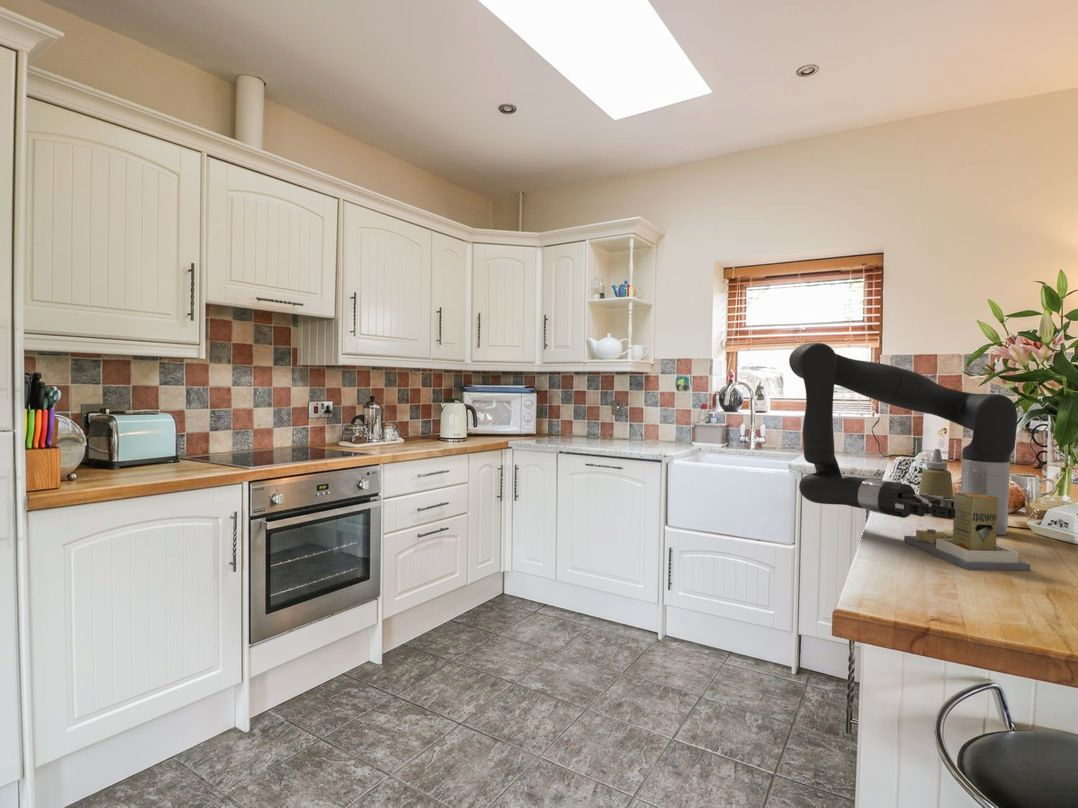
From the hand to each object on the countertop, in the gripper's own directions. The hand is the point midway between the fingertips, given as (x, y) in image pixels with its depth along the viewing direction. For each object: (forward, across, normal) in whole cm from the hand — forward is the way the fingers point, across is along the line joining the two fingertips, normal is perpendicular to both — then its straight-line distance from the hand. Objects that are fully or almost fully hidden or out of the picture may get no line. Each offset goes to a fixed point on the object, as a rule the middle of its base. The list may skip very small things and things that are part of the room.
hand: (965, 511), depth 118 cm
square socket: (+2, 0, +8) cm, 9 cm away
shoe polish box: (+2, 0, +8) cm, 9 cm away
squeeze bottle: (-26, +39, +10) cm, 48 cm away
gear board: (-2, +3, +10) cm, 10 cm away
